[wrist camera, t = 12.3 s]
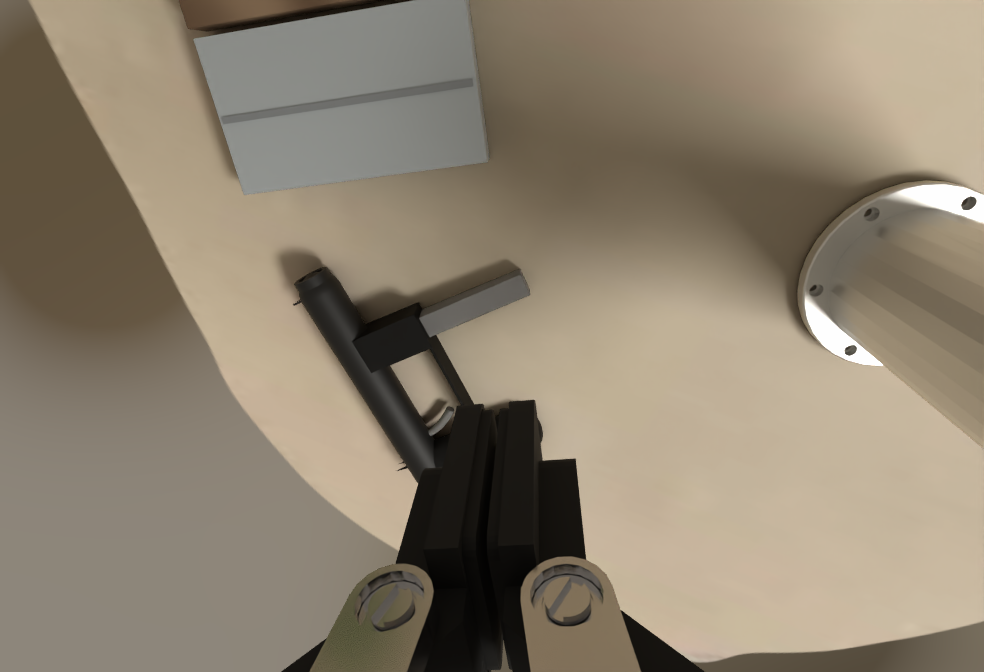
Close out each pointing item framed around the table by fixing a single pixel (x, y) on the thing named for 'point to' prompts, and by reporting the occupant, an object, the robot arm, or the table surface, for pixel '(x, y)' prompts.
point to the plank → (251, 11)
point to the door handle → (401, 353)
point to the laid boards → (349, 95)
